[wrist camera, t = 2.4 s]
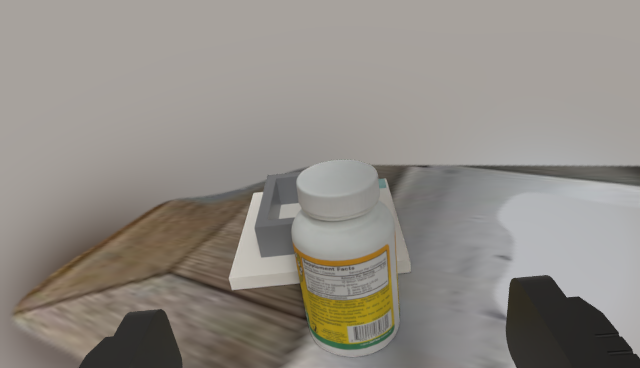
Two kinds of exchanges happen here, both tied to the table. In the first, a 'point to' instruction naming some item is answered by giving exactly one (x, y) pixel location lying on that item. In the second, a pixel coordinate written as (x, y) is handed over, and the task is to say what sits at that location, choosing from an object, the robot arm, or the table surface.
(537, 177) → the table surface
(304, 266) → the supplement bottle
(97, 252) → the table surface
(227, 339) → the table surface
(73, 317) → the table surface
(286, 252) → the dock
